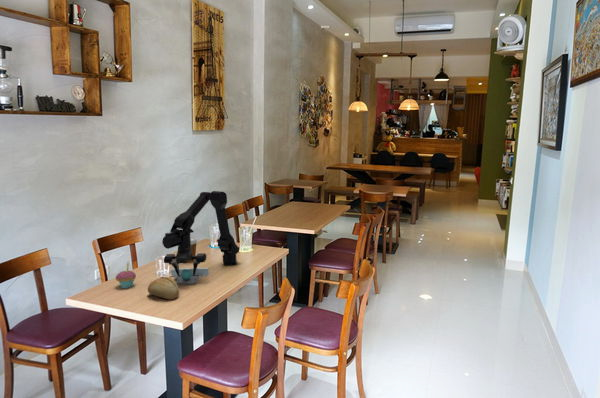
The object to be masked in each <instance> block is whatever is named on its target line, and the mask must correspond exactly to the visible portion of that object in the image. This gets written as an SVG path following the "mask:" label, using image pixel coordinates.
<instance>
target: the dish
mask: <svg viewBox="0 0 600 398" xmlns="http://www.w3.org/2000/svg"><path fill="white" fill-rule="evenodd" d="M201 278H202V276H201V274H195V276H193V275H192V276H191V278H190V279H188V280H184V279H182V277H181V275H179V276H178V275H177V276H175V278H174V279H173V280H174V281H175V282H176V283H177V285H178V286H197V284H198V282H200V281H199V280H200V279H201Z"/></svg>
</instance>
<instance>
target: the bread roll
mask: <svg viewBox="0 0 600 398" xmlns="http://www.w3.org/2000/svg"><path fill="white" fill-rule="evenodd" d="M147 292H148V293H149V295H151V296H155V297H159V298H163V299H165V300H175V299H176V298H178V297H179V294H180V289H179V285H177V283H176V282H175V281H174V279H173V278H171V277H168V276H167V277H166V276H161V277H159V278H156V279H154V280H153V281H151V282H150V284H149V285H148V287H147Z"/></svg>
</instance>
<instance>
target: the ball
mask: <svg viewBox="0 0 600 398" xmlns="http://www.w3.org/2000/svg"><path fill="white" fill-rule="evenodd" d="M191 276H192V273H191V271H190V270H188V269H185V270H183V271H182V272H181V277H182V279H184V280H188V279H190V278H191Z"/></svg>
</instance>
